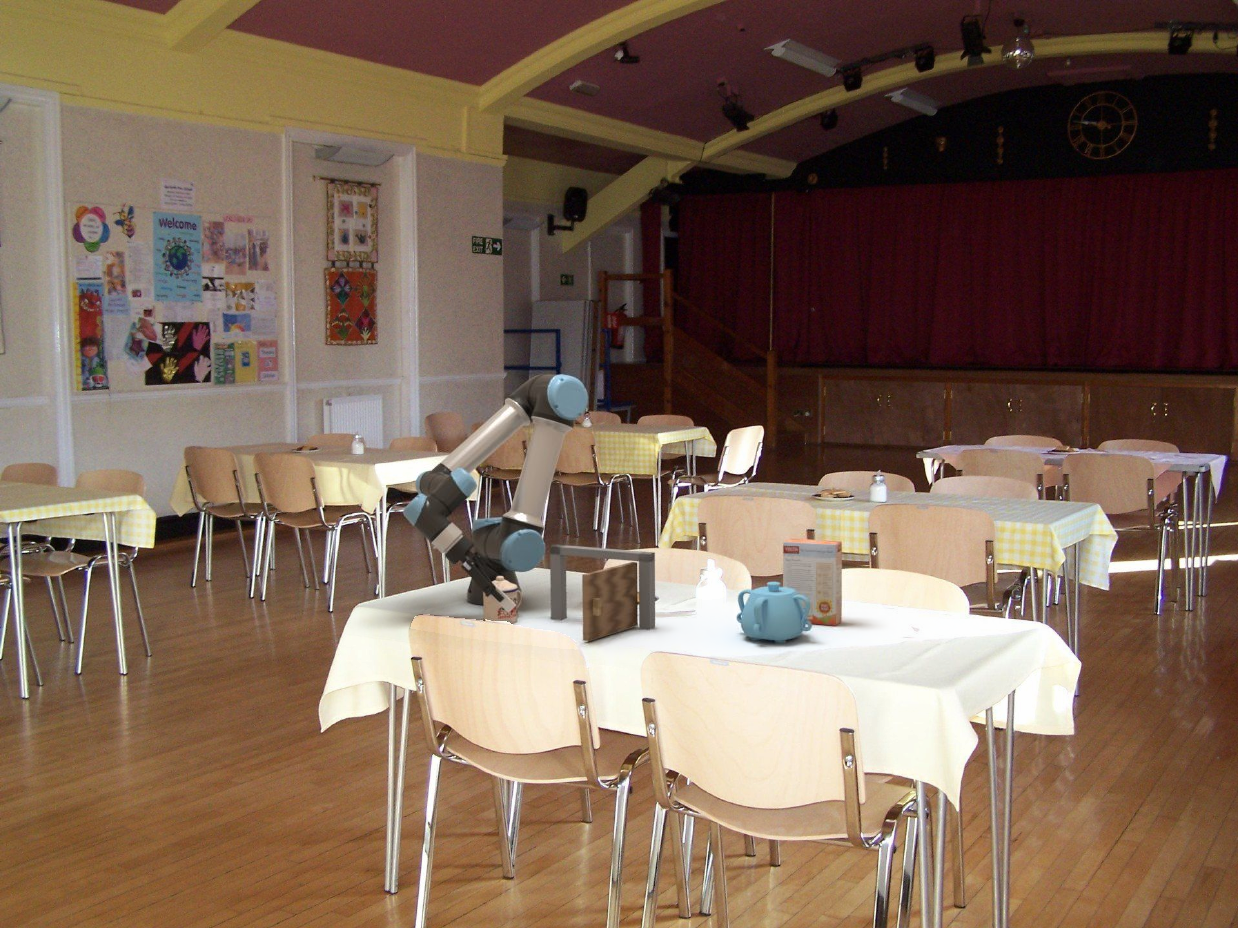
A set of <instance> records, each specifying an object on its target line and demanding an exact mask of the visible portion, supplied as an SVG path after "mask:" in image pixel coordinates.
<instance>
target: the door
mask: <svg viewBox="0 0 1238 928" xmlns="http://www.w3.org/2000/svg"><path fill="white" fill-rule="evenodd" d="M581 575H582V576H581V578H582V583H581V584H582V585H581V587H582V589H581V590H582V641H585V642H590V641H593V640H596V639H599V638H602V637H606V636H608V635H609V636H610V635H613V634H615V633H618V632H622V631H625V630H628V629H631V628H634V627H638V626H639V623H638V622H639V591H638V561H630V562H628V563H623V564H620V565H619V564H618V565H614V566H611V567H606V568H603V569H598V570H595V571H590V572H586V573H583V574H581Z"/></svg>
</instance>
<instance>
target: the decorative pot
mask: <svg viewBox="0 0 1238 928" xmlns="http://www.w3.org/2000/svg"><path fill="white" fill-rule="evenodd" d="M766 585H767V586H761V587H757V588H754V589H749V588H748V589H747V588H746V589H744V590H742V591H740V592H739V594H738V596H737V602H738V607H739V611H740V612H738V613H737V615H736V621H737V622H738V623H740V628H741V630H742V631H743V633H744V634H745V636H746V637H749V638H750V640H751V641H761V640H768V641H774V643H775V644H786V643H787V642H786V641H787V640H791V639H794V638H797V637H799V636H801V634H802V633H803V632H809V631H811V630H812V628H813V624H812V623H811V622H810V621H809V620H806V619H807V617H808V614H809V611H810V601H809V599H808V598H807V597H805V596H803V595H798V593H797V591H796V590H795V589H792V588H788V587H783V586H781V582H778V581H768V582H767V583H766ZM746 594H749V595H748V598H747V599H746V602H745V601H744V596H745V595H746ZM800 599H801V600H803V601H804V602H805V605H806V607H805V611H804V607H803V604H802V602H801V600H800Z"/></svg>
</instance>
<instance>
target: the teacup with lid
mask: <svg viewBox="0 0 1238 928" xmlns="http://www.w3.org/2000/svg"><path fill="white" fill-rule="evenodd" d="M492 583H493V584H494V585H495V586H496V588H497V587H498V588H499V589H500V590H501V591H502V592H503V593H504V594H505V595H506V596H507V597H508V598H509V599H510V600H511V601H513V602H514V603H515V604H516V606H515V607H514V608H513V609H512V610H511V611H510V612H509V613H508V612H507V611H506V610H505V609H504V608H503V607H502V606H501V605H500V604H499V603H498V602H497V601H495V600H494V599H493V598H492V597H491V596H490V595H491V594H490V595H489V596H488V597H487V596H485V593H484V592H483V600H484V605H483V620H484V619H487V620H491V621H507V622H510V623H511V624H514V623H516V622H517V621H518V608H519V607H520V606H521V603H522V600H523V596H522V595H523V594H521V592H520V591H519V590H518V587H517V585H515V584H513V583H510V582H508V581H507V580H504V577H503V576H497V577H496V580H494V581H492ZM517 595H518V598H517Z"/></svg>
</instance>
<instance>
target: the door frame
mask: <svg viewBox="0 0 1238 928" xmlns="http://www.w3.org/2000/svg"><path fill="white" fill-rule="evenodd" d="M567 556H572V557H581V558H582V557H583V558H593V559H594V558H595V559H603V560H604V559H607V560H618V561H627V562H628V561H630V562H638V622H639V623H638V626H639V627H638V628H639V629H641V630H648V629H649V631H651V630H653V629H655V628H656V552H654V551H643V550H642V551H641V550H640V551H639V550H629V549H615V548H603V547H592V546H590V547H589V546H578V545H566V544H553V545H550V546H549V566H550V567H549V569H550V570H549V571H550V574H549V575H550V576H549V577H550V579H549V580H550V619H551V620H557V619H562V620H564V619H566V618H567V617H568V615H567V613H568V611H567V610H568V607H567V605H568V603H567V598H568V597H567V596H568V595H567ZM650 629H651V630H650Z"/></svg>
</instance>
